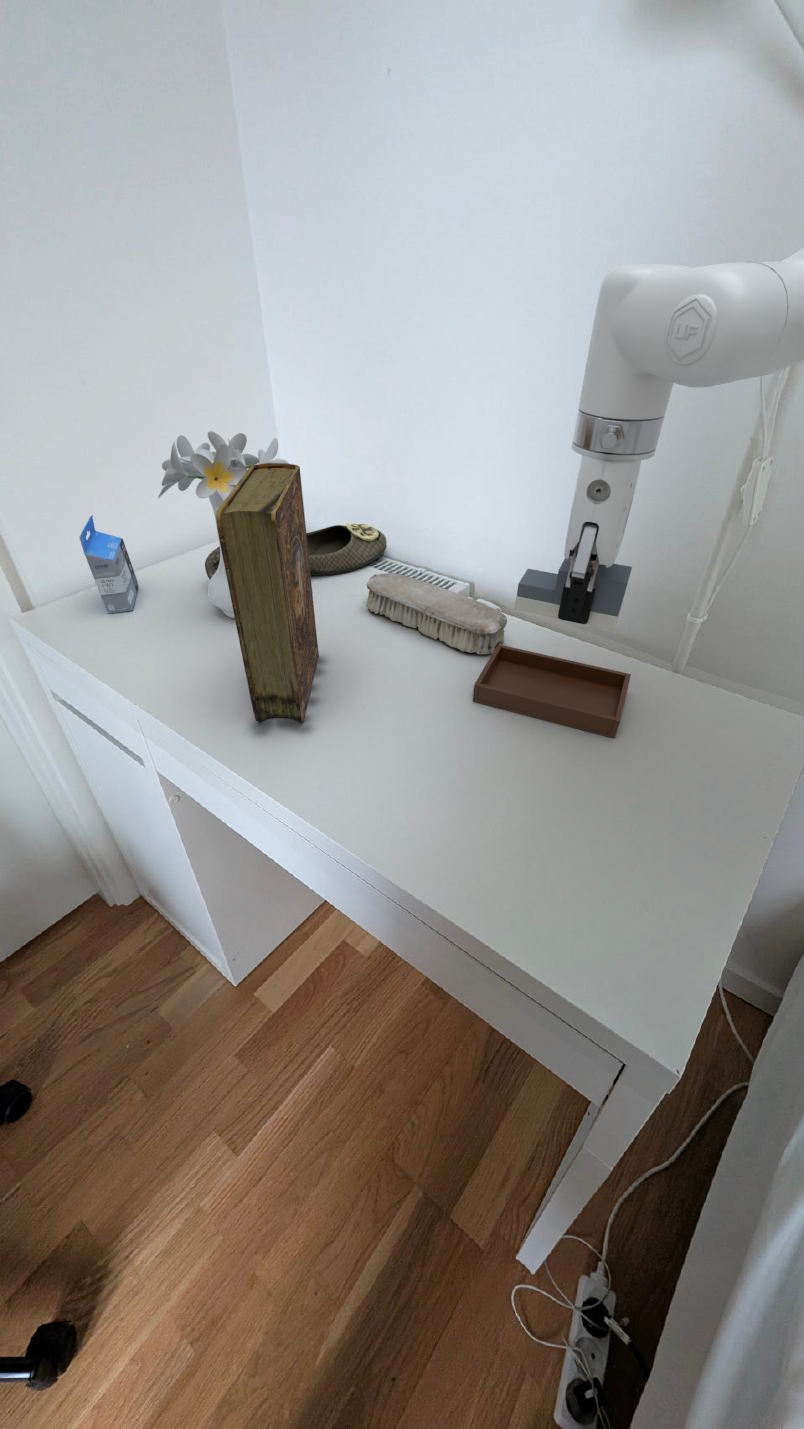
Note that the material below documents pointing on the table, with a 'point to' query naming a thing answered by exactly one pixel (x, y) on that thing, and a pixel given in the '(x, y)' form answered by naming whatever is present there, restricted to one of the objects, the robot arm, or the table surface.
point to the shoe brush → (437, 612)
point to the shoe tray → (553, 689)
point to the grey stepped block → (546, 590)
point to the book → (271, 587)
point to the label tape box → (110, 568)
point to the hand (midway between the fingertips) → (577, 608)
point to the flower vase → (214, 485)
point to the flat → (332, 549)
